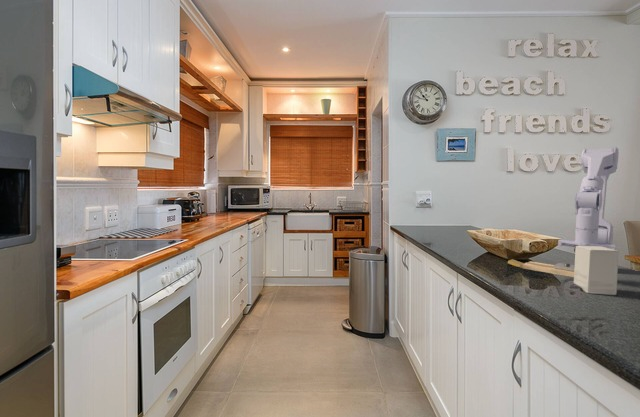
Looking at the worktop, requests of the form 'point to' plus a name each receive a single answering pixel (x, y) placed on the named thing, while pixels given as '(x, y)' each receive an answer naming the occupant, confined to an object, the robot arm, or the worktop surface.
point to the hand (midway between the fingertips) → (584, 270)
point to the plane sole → (546, 268)
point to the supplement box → (596, 269)
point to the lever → (515, 263)
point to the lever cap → (564, 266)
